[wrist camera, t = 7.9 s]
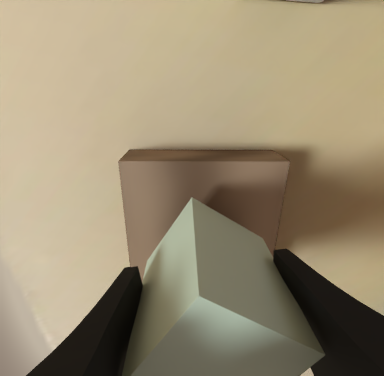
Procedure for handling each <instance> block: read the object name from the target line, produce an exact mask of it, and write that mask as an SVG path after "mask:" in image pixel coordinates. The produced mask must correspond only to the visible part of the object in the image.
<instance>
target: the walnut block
mask: <svg viewBox="0 0 384 376" xmlns="http://www.w3.org/2000/svg"><path fill="white" fill-rule="evenodd" d="M118 163H119V171H120V180H121V189H122V198H123V207H124V216H125V225H126V234H127V243H128V252H129V261H130V267H135V266H138V269H139V272H140V276H141V280H142V282H143V277H144V273H145V268H146V263H147V260H148V259H149V257H150V256H151V255H152V253H153V252H154V250H155V249H156V247H157V246H158V245H159V243H160V242H161V240H162V239H163V237H164V236H165V235H166V233H167V232H168V230H169V229H170V228H171V226H172V225H173V223H174V222H175V220H176V219H177V218H178V216H179V215H180V213H181V212H182V210H183V209H184V208H185V206H186V205H187V203H188V202H189V201H190V199H191V198H194V199H196V200H198V201H199V202H201V203H203V204H204V205H206V206H208V207H210V208H211V209H213V210H215V211H217V212H218V213H220V214H222V215H223V216H225V217H227V218H229V219H230V220H232V221H234V222H236V223H237V224H239V225H241V226H243V227H244V228H246V229H248V230H249V231H251V232H253V233H255V234H256V235H258V236H260V237H262V238H263V240H264V241H265V243H266V245H267V247H268V249H269V251H270V253H271V254H272V256H273V250H275V245H276V239H277V234H278V228H279V222H280V216H281V211H282V205H283V199H284V193H285V188H286V182H287V176H288V171H289V165H290V161H288V160H287V159H285V158H284V157H282V156H281V155H279V154H278V153H276V152H275V151H273V150H129V151H128V152H127V153H126V154H125V155H124V156H123V157H122V158H121V159H120V160H119V161H118Z"/></svg>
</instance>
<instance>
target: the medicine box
mask: <svg viewBox="0 0 384 376" xmlns="http://www.w3.org/2000/svg"><path fill="white" fill-rule="evenodd" d="M288 1H301V2H314V3H321V2H322V1H324V0H288Z"/></svg>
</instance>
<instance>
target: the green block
mask: <svg viewBox="0 0 384 376" xmlns="http://www.w3.org/2000/svg"><path fill="white" fill-rule="evenodd" d="M142 284H143V288H142V293H141V297H140V302H139V306H138V310H137V314H136V317H135V321H134V325H133V329H132V333H131V336H130V340H129V345H128V350H127V354H126V359H125V363H124V368H123V372H122V376H300V375H301V374H302V373H304V372H305V371H306V370H307V369H309V368H310V367H311V366H312V365H314V364H315V363H316V362H317V361H319V360H320V359H321V358H322V357H324V356H325V353H324V351H323V349H322V347H321V346H320V344H319V342H318V340H317V338H316V336H315V334H314V333H313V331H312V329H311V327H310V325H309V323H308V321H307V320H306V318H305V316H304V314H303V312H302V310H301V308H300V307H299V305H298V303H297V302H296V300H295V298H294V297H293V295H292V294H291V292H290V290H289V289H288V287H287V285H286V284H285V282H284V280H283V279H282V277H281V275H280V273H279V271H278V269H277V267H276V266H275V264H274V262H273V256H272V254H271V253H270V251H269V249H268V247H267V245H266V243H265V241H264V240H263V238H262V237H260V236H258V235H256V234H255V233H253V232H251V231H249V230H248V229H246V228H244V227H243V226H241V225H239V224H237V223H236V222H234V221H232V220H230V219H229V218H227V217H225V216H223V215H222V214H220V213H218V212H217V211H215V210H213V209H211V208H210V207H208V206H206V205H204V204H203V203H201V202H199V201H198V200H196V199H194V198H191V199H190V201H189V202H188V203H187V205H186V206H185V208H184V209H183V210H182V212H181V213H180V215H179V216H178V218H177V219H176V220H175V222H174V223H173V225H172V226H171V228H170V229H169V230H168V232H167V233H166V235H165V236H164V237H163V239H162V240H161V242H160V243H159V245H158V246H157V247H156V249H155V250H154V252H153V253H152V255H151V256H150V257H149V259H148V260H147V263H146V268H145V273H144V277H143V282H142Z"/></svg>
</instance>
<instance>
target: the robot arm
mask: <svg viewBox="0 0 384 376" xmlns="http://www.w3.org/2000/svg"><path fill="white" fill-rule="evenodd" d="M273 262H274V264H275V266H276V267H277V269H278V271H279V273H280V275H281V277H282V279H283V280H284V282H285V284H286V285H287V287H288V289H289V290H290V292H291V294H292V295H293V297H294V298H295V300H296V302H297V303H298V305H299V307H300V308H301V310H302V312H303V314H304V316H305V318H306V320H307V321H308V323H309V325H310V327H311V329H312V331H313V333H314V334H315V336H316V338H317V340H318V342H319V344H320V346H321V347H322V349H323V351H324V353H325V356H324V357H322V358H321V359H320V360H319V361H317V362H316V363H315V364H314V365H312V366H311V370H312V372H313V374H314V376H384V316H383V315H381V314H380V313H378V312H376V311H375V310H373V309H371V308H369V307H368V306H366V305H364V304H363V303H361V302H360V301H358V300H356V299H355V298H353V297H352V296H350V295H349V294H347V293H346V292H344V291H343V290H341V289H340V288H338V287H337V286H335V285H334V284H332V283H331V282H330V281H328V280H327V279H326V278H324V277H323V276H321V275H320V274H319V273H317V272H316V271H315V270H313V269H312V268H311V267H310V266H308V265H307V264H306V263H304V262H303V261H302V260H301V259H299V258H298V257H297V256H296V255H294V254H293V253H292V252H291V251H289V250H288V249H280V250H273ZM142 288H143V284H142V280H141V276H140V272H139V269H138V266H135V267H127V268H124V269H123V271H122V272H121V273H120V274H119V276H118V277H117V278H116V280H115V281H114V282H113V284H112V285H111V286H110V288H109V289H108V290H107V291H106V293H105V294H104V295H103V296H102V298H101V299H100V300H99V301H98V303H97V304H96V305H95V306H94V308H93V309H92V310H91V311H90V312H89V313H88V315H87V316H86V317H85V318H84V319H83V320H82V321H81V323H80V324H79V325H78V326H77V327H76V328H75V329H74V330H73V331H72V333H71V334H70V335H69V336H68V337H67V338H66V339H65V340H64V341H63V342H62V343H61V344H60V345H59V346H58V347H57V348H56V349H55V350H54V351H53V352H52V353H51V354H50V355H48V356H47V357H46V358H45V359H44V360H43V361H42V362H41V363H40V364H38V365H37V366H36V367H35V368H34V369H33V370H32V371H31V372H30V373H28V374H27V375H26V376H122V372H123V368H124V363H125V359H126V354H127V350H128V345H129V340H130V336H131V333H132V329H133V325H134V321H135V317H136V314H137V310H138V306H139V302H140V297H141V293H142Z"/></svg>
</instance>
